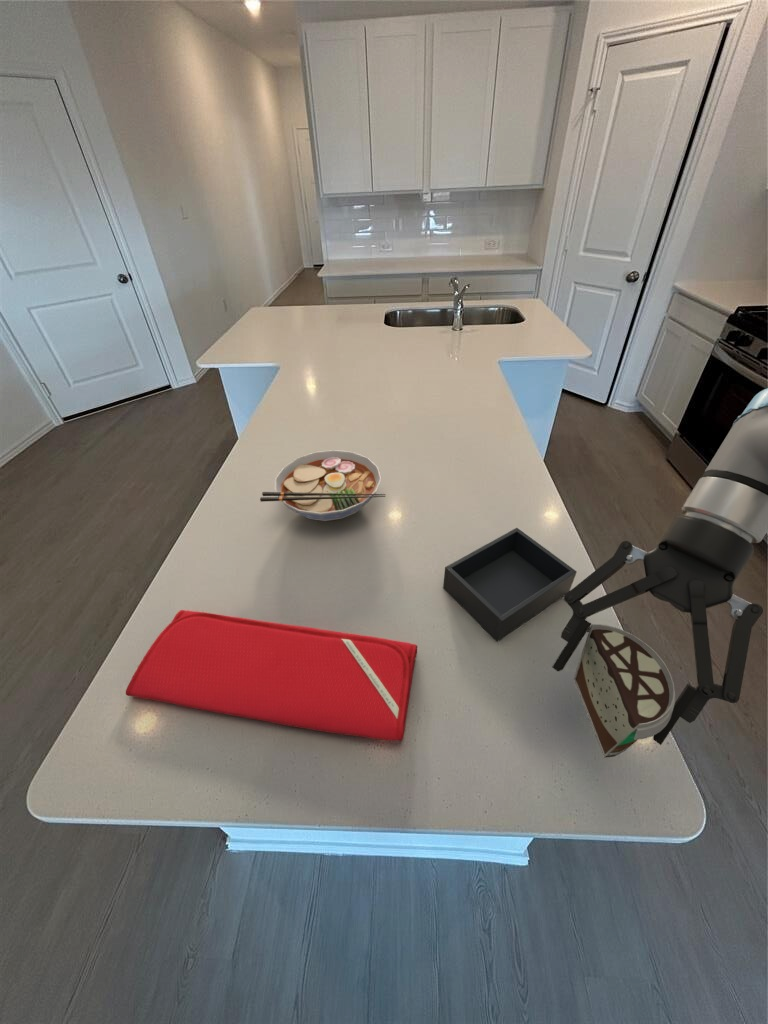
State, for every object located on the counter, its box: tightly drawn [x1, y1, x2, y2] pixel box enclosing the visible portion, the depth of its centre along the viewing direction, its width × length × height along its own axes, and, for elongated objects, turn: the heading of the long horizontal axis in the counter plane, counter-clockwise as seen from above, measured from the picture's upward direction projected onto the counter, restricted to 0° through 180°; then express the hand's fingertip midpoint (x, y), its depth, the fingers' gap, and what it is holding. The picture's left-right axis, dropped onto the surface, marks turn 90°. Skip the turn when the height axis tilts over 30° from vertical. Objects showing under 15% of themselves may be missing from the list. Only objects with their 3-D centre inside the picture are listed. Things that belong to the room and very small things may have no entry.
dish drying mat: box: [125, 609, 418, 742], centre depth 66 cm, size 16×41×4 cm, turn 79°
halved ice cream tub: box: [573, 623, 676, 759], centre depth 48 cm, size 12×6×10 cm, turn 1°
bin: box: [442, 527, 577, 642], centre depth 77 cm, size 14×18×6 cm
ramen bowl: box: [259, 449, 386, 522], centre depth 96 cm, size 25×23×8 cm
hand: (604, 701), depth 48 cm, fingers closed on halved ice cream tub, 11 cm apart
